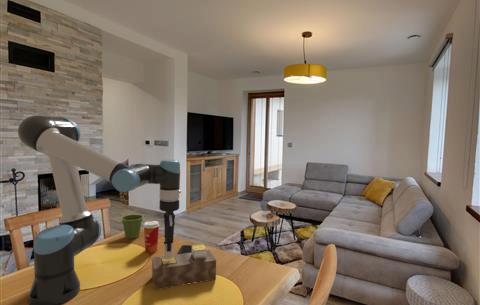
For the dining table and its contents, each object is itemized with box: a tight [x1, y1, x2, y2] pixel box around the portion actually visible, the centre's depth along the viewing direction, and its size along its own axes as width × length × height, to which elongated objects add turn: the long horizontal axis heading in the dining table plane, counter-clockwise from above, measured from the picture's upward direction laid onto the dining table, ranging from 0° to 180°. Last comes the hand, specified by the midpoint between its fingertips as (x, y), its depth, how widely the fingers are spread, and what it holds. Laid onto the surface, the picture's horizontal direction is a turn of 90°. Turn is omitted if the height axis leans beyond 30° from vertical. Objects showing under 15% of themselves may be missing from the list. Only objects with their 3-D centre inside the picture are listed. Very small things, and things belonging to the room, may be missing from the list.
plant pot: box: [120, 213, 145, 240], centre depth 151 cm, size 12×12×11 cm
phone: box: [177, 244, 193, 254], centre depth 133 cm, size 8×1×15 cm
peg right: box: [191, 243, 207, 261], centre depth 111 cm, size 5×5×7 cm
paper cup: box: [142, 220, 160, 254], centre depth 134 cm, size 8×8×14 cm
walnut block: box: [151, 249, 217, 291], centre depth 109 cm, size 24×10×8 cm, turn 111°
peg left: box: [162, 257, 176, 265], centre depth 107 cm, size 5×5×7 cm
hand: (168, 258), depth 107 cm, fingers closed
